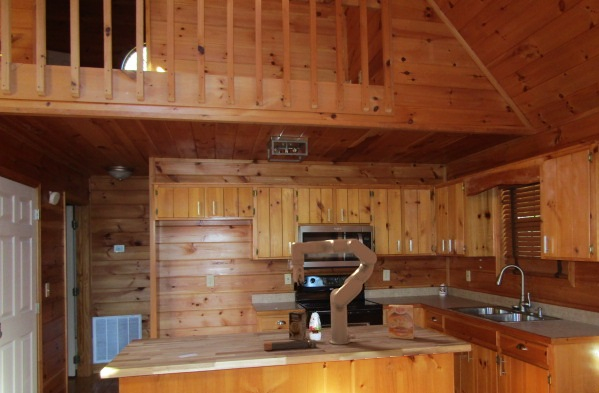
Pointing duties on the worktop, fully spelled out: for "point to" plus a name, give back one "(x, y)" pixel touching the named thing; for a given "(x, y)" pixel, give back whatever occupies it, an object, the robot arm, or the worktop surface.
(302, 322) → the coffee box
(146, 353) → the worktop surface
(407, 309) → the coffeecake box
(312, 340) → the arm
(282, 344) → the tongs moving arm
